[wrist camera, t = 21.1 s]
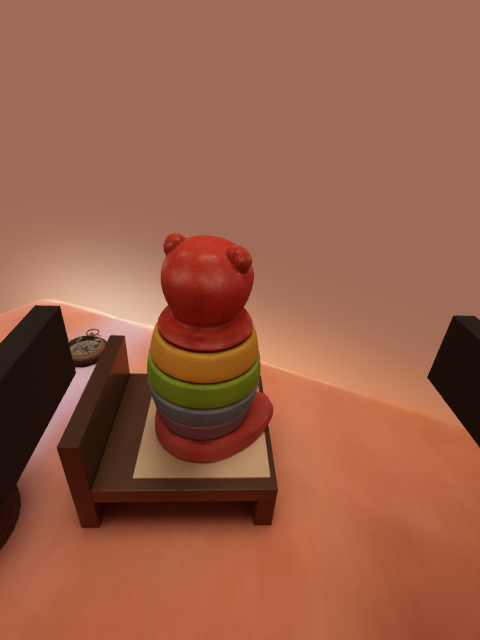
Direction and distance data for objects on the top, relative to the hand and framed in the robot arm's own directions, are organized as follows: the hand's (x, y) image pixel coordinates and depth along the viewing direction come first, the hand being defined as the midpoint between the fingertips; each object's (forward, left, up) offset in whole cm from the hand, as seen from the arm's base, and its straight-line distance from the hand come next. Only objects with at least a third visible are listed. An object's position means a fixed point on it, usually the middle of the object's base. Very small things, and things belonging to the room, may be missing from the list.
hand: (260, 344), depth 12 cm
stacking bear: (+2, -14, -19) cm, 24 cm away
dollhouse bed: (+4, -14, -24) cm, 28 cm away
